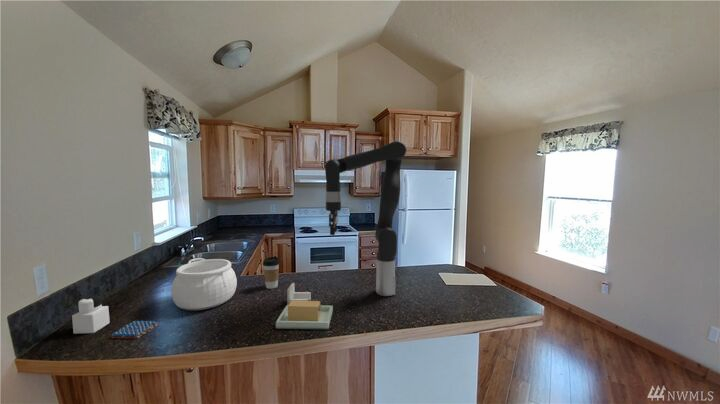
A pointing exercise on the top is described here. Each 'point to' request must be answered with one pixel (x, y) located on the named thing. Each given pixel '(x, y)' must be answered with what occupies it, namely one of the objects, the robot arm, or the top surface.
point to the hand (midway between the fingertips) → (333, 233)
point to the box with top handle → (304, 311)
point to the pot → (203, 284)
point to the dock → (297, 295)
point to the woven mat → (135, 329)
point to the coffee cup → (271, 272)
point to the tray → (320, 324)
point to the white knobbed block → (90, 315)
